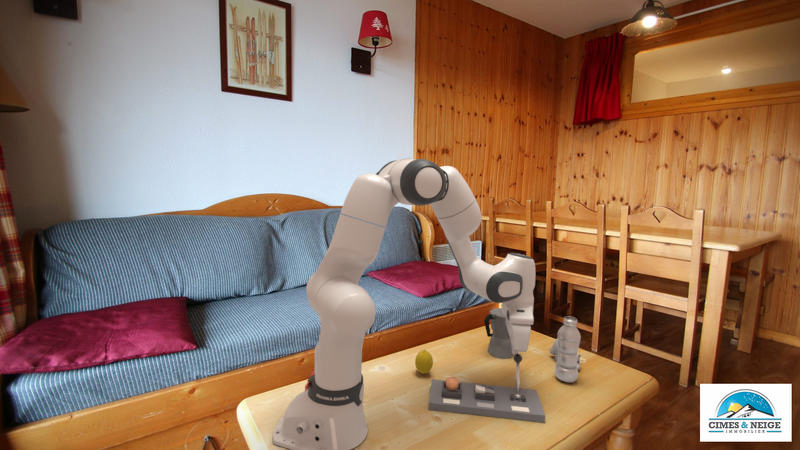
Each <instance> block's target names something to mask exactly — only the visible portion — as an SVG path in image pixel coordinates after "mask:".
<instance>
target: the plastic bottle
mask: <svg viewBox="0 0 800 450" xmlns="http://www.w3.org/2000/svg"><path fill="white" fill-rule="evenodd" d="M562 324H563V325H562V326H561V327H560V328H559V329H558V331H557V338H558V358H557V361H556V364H555V366H554V374H555V377H556V378H557V379H558V380H559V381H560V382H564V383H568V384H569V383H570V384H573V383H575V382H576V381H577V380H578V377H579V370H578V368H577V354H579V348H580V343H581V338H582V336H581V333H580V331H579V329H578V328H577V326H578V319H577V318H576V317H574V316H570V315H569V316H564V317H563V321H562Z"/></svg>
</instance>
